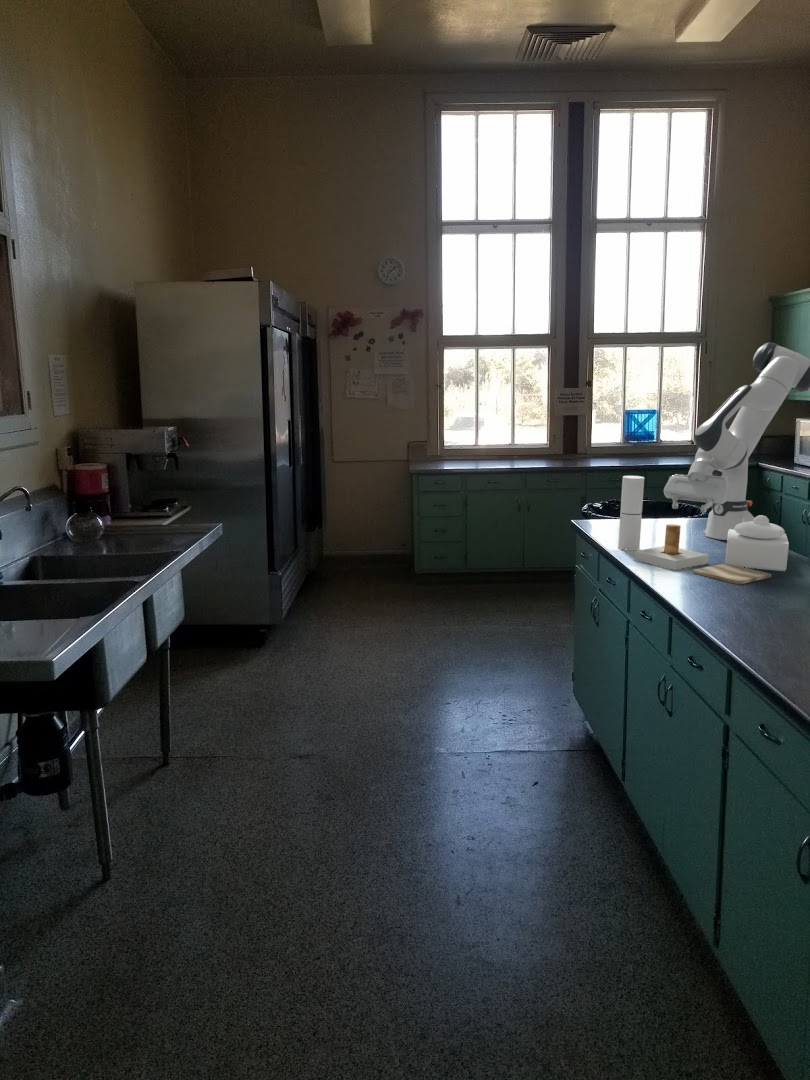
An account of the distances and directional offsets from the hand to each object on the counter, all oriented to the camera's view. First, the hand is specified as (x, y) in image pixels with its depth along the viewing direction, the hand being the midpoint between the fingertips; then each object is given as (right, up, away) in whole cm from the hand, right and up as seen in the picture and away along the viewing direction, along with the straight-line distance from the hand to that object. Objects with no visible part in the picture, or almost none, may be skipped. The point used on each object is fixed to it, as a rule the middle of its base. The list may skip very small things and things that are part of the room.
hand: (688, 509), depth 260 cm
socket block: (-7, -17, -4) cm, 19 cm away
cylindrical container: (-15, -13, +16) cm, 26 cm away
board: (+6, -21, -20) cm, 29 cm away
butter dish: (+20, -18, -3) cm, 27 cm away
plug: (-7, -17, -4) cm, 19 cm away
